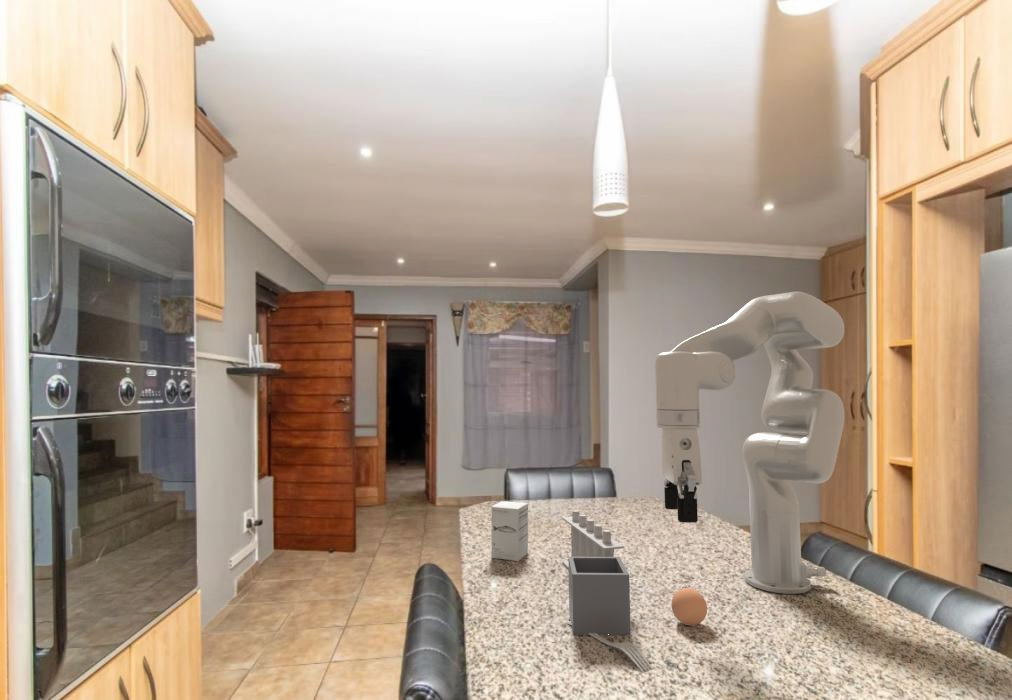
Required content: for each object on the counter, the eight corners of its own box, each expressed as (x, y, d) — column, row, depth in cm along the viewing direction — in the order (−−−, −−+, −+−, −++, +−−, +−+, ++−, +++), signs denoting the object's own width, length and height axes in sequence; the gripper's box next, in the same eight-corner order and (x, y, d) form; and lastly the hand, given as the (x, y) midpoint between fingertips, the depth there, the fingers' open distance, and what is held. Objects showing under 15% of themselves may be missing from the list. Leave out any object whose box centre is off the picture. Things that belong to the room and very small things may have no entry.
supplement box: (490, 558, 131) (490, 506, 132) (502, 550, 138) (501, 500, 139) (518, 562, 129) (518, 508, 130) (529, 553, 136) (528, 502, 136)
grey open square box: (621, 611, 100) (619, 556, 101) (630, 635, 91) (629, 574, 91) (569, 611, 101) (568, 556, 101) (573, 634, 91) (572, 574, 92)
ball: (701, 616, 98) (700, 583, 98) (712, 631, 92) (711, 595, 92) (668, 616, 98) (667, 582, 98) (677, 631, 92) (676, 595, 92)
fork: (575, 633, 97) (574, 617, 98) (658, 673, 79) (656, 653, 80) (562, 637, 96) (561, 620, 96) (644, 678, 78) (642, 657, 79)
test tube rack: (626, 604, 104) (624, 534, 105) (604, 607, 103) (603, 536, 104) (580, 563, 128) (579, 506, 129) (562, 564, 127) (561, 507, 128)
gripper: (714, 422, 89) (717, 528, 88) (686, 416, 106) (688, 504, 105) (668, 422, 90) (670, 527, 88) (647, 416, 107) (649, 504, 106)
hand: (680, 515), depth 97 cm, fingers open, 9 cm apart
